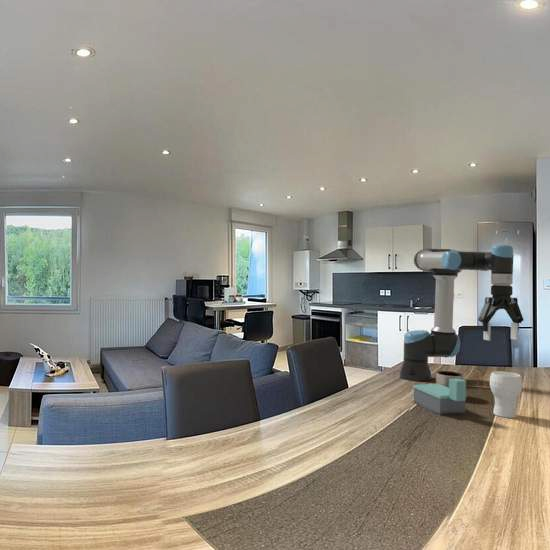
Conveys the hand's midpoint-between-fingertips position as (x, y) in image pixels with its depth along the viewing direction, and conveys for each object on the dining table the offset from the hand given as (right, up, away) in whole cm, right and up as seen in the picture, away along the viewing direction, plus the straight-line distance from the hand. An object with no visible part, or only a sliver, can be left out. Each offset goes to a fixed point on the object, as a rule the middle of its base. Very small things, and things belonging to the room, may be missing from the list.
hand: (500, 339), depth 172 cm
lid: (-24, -20, -4) cm, 32 cm away
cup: (-3, -27, -9) cm, 28 cm away
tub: (-25, -26, -2) cm, 36 cm away
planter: (-14, -26, +16) cm, 34 cm away
